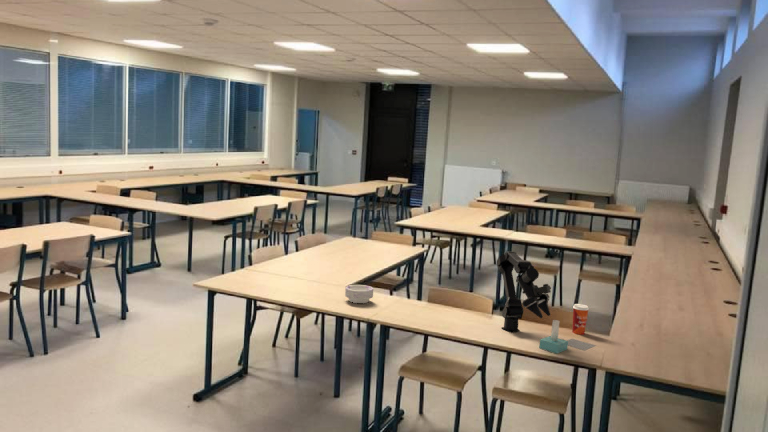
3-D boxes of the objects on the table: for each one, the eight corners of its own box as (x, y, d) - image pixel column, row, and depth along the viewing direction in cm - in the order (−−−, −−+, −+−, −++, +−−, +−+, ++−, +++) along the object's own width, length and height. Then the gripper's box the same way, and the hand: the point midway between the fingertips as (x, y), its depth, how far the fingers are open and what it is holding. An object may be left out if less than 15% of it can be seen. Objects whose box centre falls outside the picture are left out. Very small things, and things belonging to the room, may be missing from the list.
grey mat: (559, 343, 284) (559, 343, 284) (572, 339, 293) (572, 338, 293) (584, 351, 276) (584, 350, 276) (596, 346, 285) (596, 345, 285)
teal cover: (539, 348, 276) (542, 320, 275) (549, 344, 283) (552, 316, 281) (557, 353, 270) (560, 325, 268) (567, 349, 277) (570, 321, 275)
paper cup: (575, 336, 299) (578, 307, 297) (567, 331, 306) (569, 303, 304) (589, 335, 301) (592, 307, 299) (580, 330, 308) (583, 303, 307)
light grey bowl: (340, 298, 339) (341, 284, 338) (365, 297, 345) (366, 283, 344) (350, 306, 325) (351, 291, 324) (377, 304, 332) (378, 290, 331)
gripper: (534, 279, 273) (552, 310, 268) (549, 276, 288) (567, 306, 283) (514, 291, 279) (532, 322, 273) (530, 288, 294) (547, 317, 289)
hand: (545, 316), depth 280 cm, fingers open, 9 cm apart
